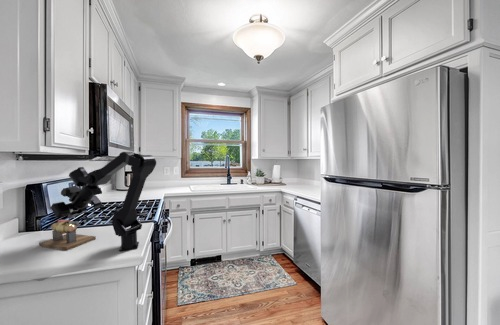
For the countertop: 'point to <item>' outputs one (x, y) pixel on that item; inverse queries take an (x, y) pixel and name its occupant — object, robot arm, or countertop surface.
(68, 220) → the valve lever
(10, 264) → the countertop surface
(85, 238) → the mounting board
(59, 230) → the valve body
